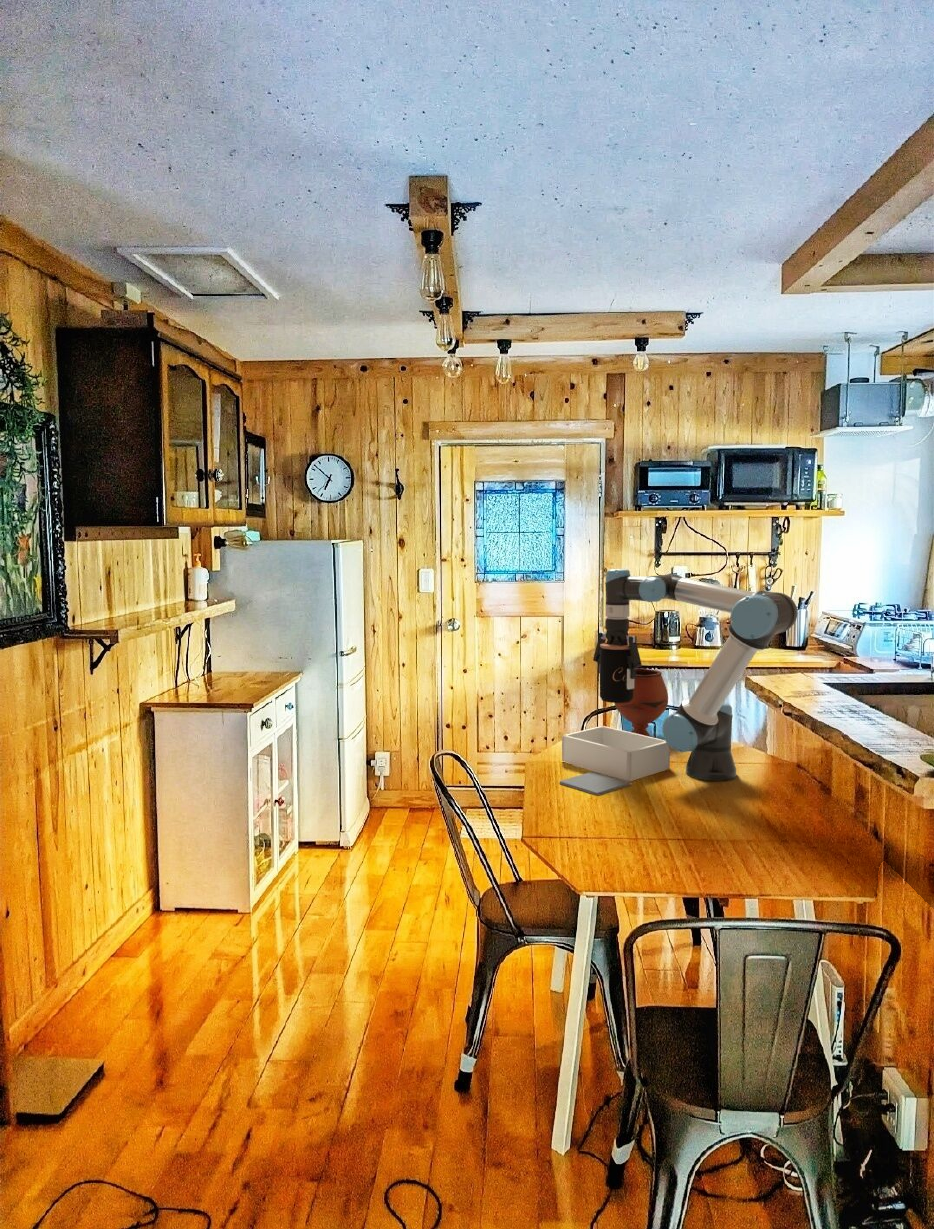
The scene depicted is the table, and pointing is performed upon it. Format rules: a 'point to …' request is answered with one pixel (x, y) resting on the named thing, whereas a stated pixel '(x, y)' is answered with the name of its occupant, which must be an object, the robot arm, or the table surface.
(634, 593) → the robot arm
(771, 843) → the table surface
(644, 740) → the crate
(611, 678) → the coffee jar
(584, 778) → the mat
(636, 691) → the goblet
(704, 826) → the table surface
